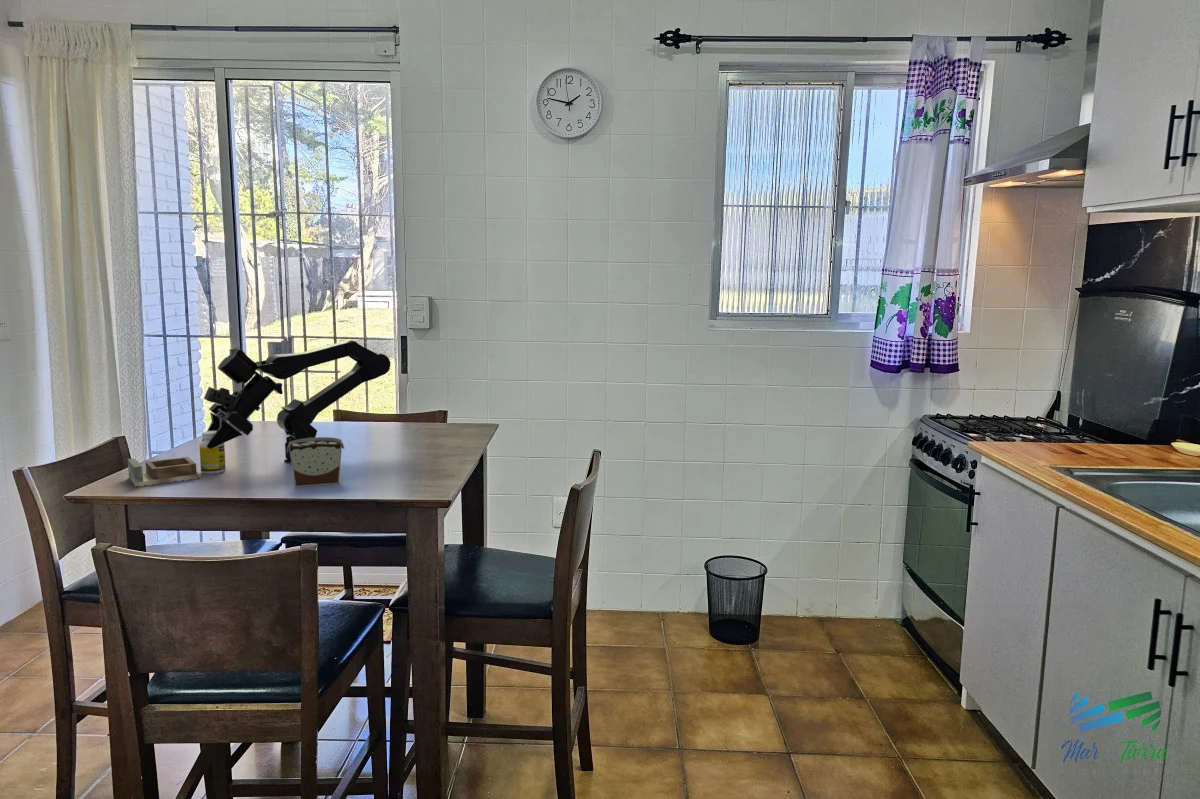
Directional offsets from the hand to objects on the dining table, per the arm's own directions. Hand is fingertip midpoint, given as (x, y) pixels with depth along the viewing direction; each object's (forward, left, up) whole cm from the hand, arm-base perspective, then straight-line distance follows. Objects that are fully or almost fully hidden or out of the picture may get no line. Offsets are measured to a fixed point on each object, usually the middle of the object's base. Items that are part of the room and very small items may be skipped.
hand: (205, 445), depth 187 cm
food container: (-30, +4, -7) cm, 31 cm away
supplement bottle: (-1, -1, -7) cm, 7 cm away
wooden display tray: (+6, +6, -7) cm, 11 cm away
